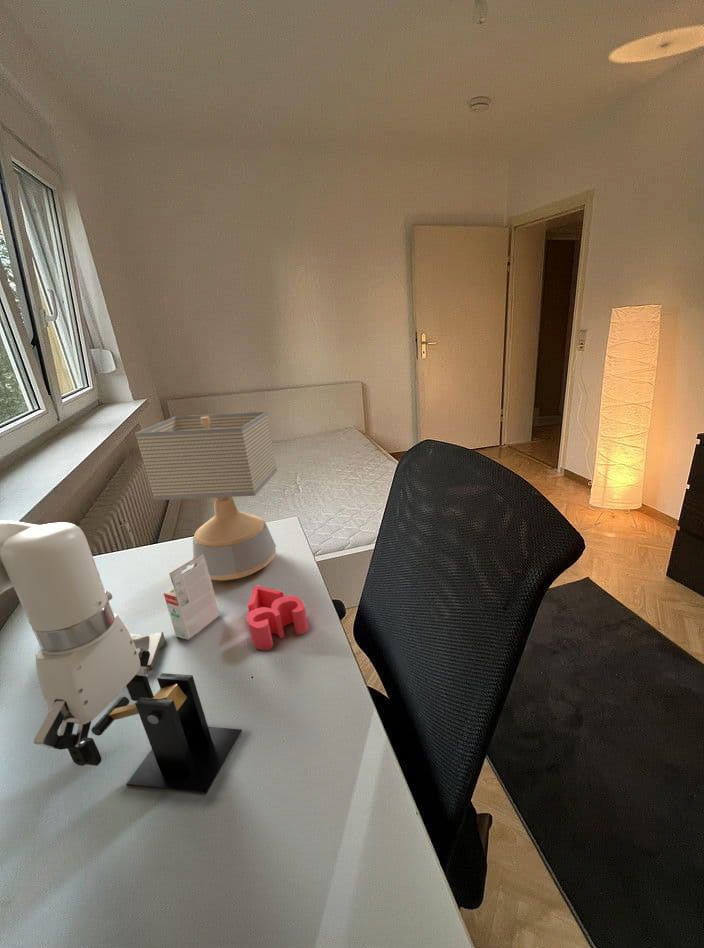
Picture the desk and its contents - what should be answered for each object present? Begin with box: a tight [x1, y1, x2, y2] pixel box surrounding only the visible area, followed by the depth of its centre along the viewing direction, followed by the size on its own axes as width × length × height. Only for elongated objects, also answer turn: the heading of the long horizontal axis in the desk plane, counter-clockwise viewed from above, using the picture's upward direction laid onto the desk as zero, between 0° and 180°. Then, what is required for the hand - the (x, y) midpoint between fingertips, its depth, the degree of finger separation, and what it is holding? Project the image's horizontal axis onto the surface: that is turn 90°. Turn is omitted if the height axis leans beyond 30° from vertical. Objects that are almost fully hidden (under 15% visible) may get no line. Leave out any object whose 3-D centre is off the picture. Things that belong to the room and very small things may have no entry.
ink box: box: [163, 554, 221, 641], centre depth 84 cm, size 4×8×15 cm, turn 156°
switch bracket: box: [126, 672, 243, 795], centre depth 57 cm, size 11×9×13 cm
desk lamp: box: [134, 411, 278, 581], centre depth 101 cm, size 22×19×37 cm
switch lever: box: [90, 684, 187, 737], centre depth 57 cm, size 12×5×2 cm, turn 82°
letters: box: [246, 584, 309, 651], centre depth 86 cm, size 14×10×5 cm
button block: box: [129, 631, 166, 672], centre depth 77 cm, size 11×9×4 cm
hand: (118, 728), depth 59 cm, fingers open, 9 cm apart
